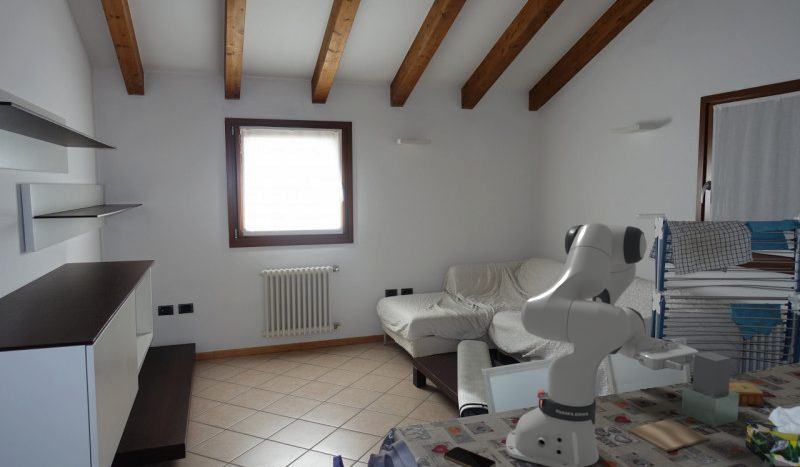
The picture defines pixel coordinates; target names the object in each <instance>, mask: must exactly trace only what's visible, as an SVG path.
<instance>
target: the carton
mask: <svg viewBox="0 0 800 467" xmlns="http://www.w3.org/2000/svg"><path fill="white" fill-rule="evenodd" d="M729 390H731V391H734V392H736V393H739V403H738V404H741V405H742V404H743V405H744V404H746V405H761V406H763V405H764V393H763V391H761V390H760V389H759V388H758V387H756V386H754V385H753V384H752V383H750V382H736V381H734V382H733V381H731V382H730V381H729Z"/></svg>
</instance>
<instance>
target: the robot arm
mask: <svg viewBox="0 0 800 467" xmlns="http://www.w3.org/2000/svg"><path fill="white" fill-rule="evenodd" d="M647 244H648V243H647V238H646V236H645V233H644V232H643V231H642V230H641V229H640V228H639V227H635V226H630V225H628V226H623V225H613V224H612V225H609V224H603V223H600V222H588V223H586V224H584V225H583V224H580V225H574V226H571V227H570V228H569V229H568V230H567V231H566V233H565V237H564V250H565V253H566V255H567V258H566V261H565V264H564V267H563V269H562V270H561V273H560V275H559V277H558V278H557V280H556V281H555V282H554V283H553V284H552V285H550V286H549V287H548V288H547V289H545V290H543V291H542V292H540V293H538V294H536V295H532V296H530V297H529V298H528V299H527V300H526V301H525V303H523V306H522V309H521V314H520V318H521V319H520V320H521V325H522V326H523V328H524V330H525V331H526V332H527V334H530V335H532V336H534V337H535V336H536V337H538V338H541V339H543V340H549V341H554V342H561V343H566V344H570V345H572V346H573V351H572V352H570V353H567V354H563V355H560V356H558V357H556V358H555V359H553V360H552V361H551V362H550V363H549V366H548V371H547V392H545V390H543V389H539V390H537V396H536V397H537V398H538V407H536V408H534V409H532V410H530V411H529V412H526V413H525V414H523V415H521V416H520V418H519V420H518V421H517V423H516V427H515V429H514V430H512V431H510V432H509V433H508V434H507V437H506V440H505V450H506V453H507V454H508V456H510V457H512V458H514V459H518V460H522V461H526V462H531V463H534V464H539V465H542V466H546V467H588V466H592V465H594V464H596V463H597V462H598V461H599V459H600V453H599V450H598V445H597V440H596V431H595V424H596V419H597V402H596V399H595V393H596V392H595V390H596V380H597V375H598V372H599V371H598V370H599V367H600V366H601V363H602V362H603V361H604V360H605V358H607V356H608V355H616V354H619V355H621V356H623V357H626V358H629V359H630V360H631V359H632V360H636V361H638V363H639V364H640V365H642V366H643V367H646V368H647V369H650V370H653V371H660V370H665V369H669V370H675V371H677V372H679V371H683V370H684V366H686V365H691V364H694V361H695V354H700V353H701V352H700V351H699V350H697V349H696V348H694V347H690V346H688V345H684V344H681V343H677V341H676V340H674V339H662V338H661V339H660V338H658V337H657V338H656V337H651V336H650V335H649V336H647V334H646V325H645V324H646V323H645V319H644V317H643V315H642V314H641V313H640V312H639V311H638V310H636V309H634V308H632V307H629V306H621V307H620V306H616V303H617V301H618V300H619V299H620V298H621V296H622V295H623V294H624V293H625V291H626V290H627V289H628V288H629V287H630V286H631V284H633V282H634V280H635V277H636V272H637V270H636V269H637V265H636V264H637V263H639V262H640V261H642V260H643V259H644V256H645V255H646V254H645V253H646V252H647V247H648V246H647ZM590 299H592V300H590Z"/></svg>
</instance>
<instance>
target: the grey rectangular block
mask: <svg viewBox="0 0 800 467" xmlns="http://www.w3.org/2000/svg"><path fill="white" fill-rule="evenodd" d="M699 353H700V354H695V361H694V363H693V380H692V381H693V382H692V384H693V388H695V389H697V390H700V391H703V392H705V393H708V394H710V395H713V396H715V395H719V394H724V393H728V392H729V382H730V381H731V380H730V378H731V365H732V363H731V362H732V358H731V357H728V356H725V355H722V354H719V353H716V352H712V351H707V352H706V351H705V352H699Z"/></svg>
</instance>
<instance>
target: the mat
mask: <svg viewBox="0 0 800 467" xmlns="http://www.w3.org/2000/svg"><path fill="white" fill-rule="evenodd" d="M627 432H628V433H630V434H632V435H634V436H635V437H638V438H639V439H642V440H644V441H645V442H647V443H649V444H651V445H653V446H655V447H656V448H659V449H660V450H663V451H665V452H667V453H668V452H671V451H674V450H678V449H681V448H685V447H688V446H692V445H695V444H698V443H701V442H706V441H708V440H710V437H709V436H707V435H705V434H703V433H702V432H698V431H697V430H694V429H692V428H690V427H688V426H686V425H684V424H682V423H679V422H677V421H675V420H673V419H671V418H667V419H663V420H660V421H659V420H658V421H655V422H651V423H646V424H642V425H640V426H639V425H638V426H635V427H632V428H628V429H627Z"/></svg>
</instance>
